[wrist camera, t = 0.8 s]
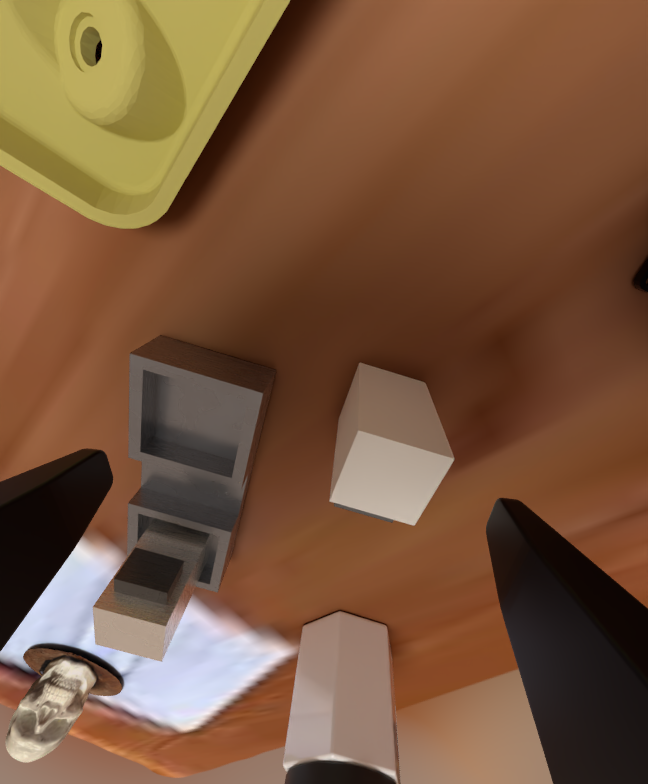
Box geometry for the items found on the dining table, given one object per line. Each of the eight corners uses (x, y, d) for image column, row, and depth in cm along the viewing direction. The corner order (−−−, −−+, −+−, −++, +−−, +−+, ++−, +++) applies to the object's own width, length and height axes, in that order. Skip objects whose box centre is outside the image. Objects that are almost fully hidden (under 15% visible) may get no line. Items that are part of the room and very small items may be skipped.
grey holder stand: (276, 370, 20) (225, 461, 13) (231, 557, 29) (184, 679, 21) (160, 334, 20) (38, 407, 12) (149, 534, 28) (72, 650, 21)
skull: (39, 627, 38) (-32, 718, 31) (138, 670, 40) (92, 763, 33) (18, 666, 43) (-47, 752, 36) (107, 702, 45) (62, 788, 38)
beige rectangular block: (425, 382, 20) (454, 459, 13) (392, 451, 22) (404, 542, 16) (359, 362, 19) (358, 430, 13) (333, 433, 22) (322, 519, 16)
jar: (338, 669, 35) (328, 865, 25) (285, 630, 33) (248, 828, 22) (412, 646, 32) (437, 860, 21) (358, 600, 30) (356, 815, 19)
